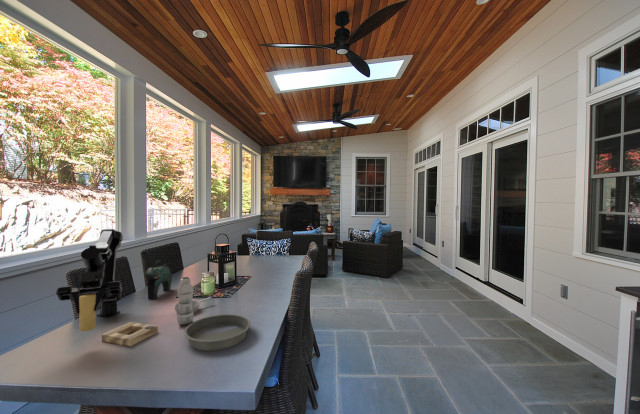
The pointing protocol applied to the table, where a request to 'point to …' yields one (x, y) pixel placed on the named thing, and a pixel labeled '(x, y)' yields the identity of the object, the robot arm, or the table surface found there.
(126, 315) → the table surface
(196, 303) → the saucepan
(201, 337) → the cake pan
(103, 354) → the table surface
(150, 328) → the wooden slotted board
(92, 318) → the peg
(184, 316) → the plastic bottle
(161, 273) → the green elephant figurine
